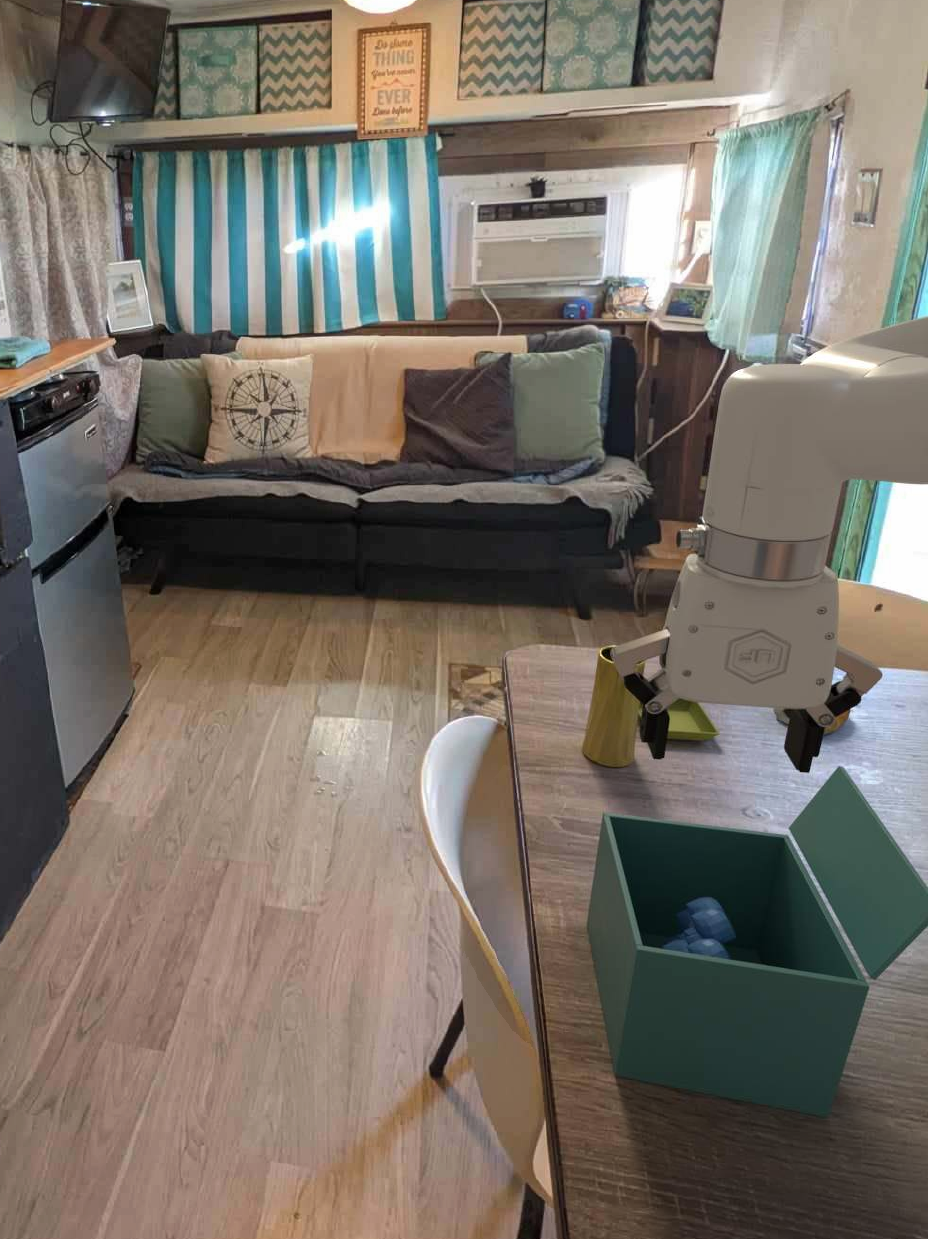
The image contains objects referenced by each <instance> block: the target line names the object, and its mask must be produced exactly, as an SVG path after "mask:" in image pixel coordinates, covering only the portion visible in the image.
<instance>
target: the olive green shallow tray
mask: <svg viewBox="0 0 928 1239" xmlns="http://www.w3.org/2000/svg"><path fill="white" fill-rule="evenodd" d="M642 707H643V704H642V703H641V702H640V705H639V712H638V717H640V718H641V715H642ZM666 709H667V711H668V714H669V716H670V723H669V729H668V736H667V740H681V741H683V740H684V741H696V742H697V741H699V742H701V741H707V740H710V739H713V738H715V737H717V736H719V735H720V731H719V729H718V728H717V726H716V725H715V723H713V721H712V719H711V718H710V717H709V715H708V713H707V712H706V711H705V708H703V706H702V704H701V702H693V701H688V700H685V699H682V698H679V699H678V700H677V701H675V702H674V703H673V704H671V705H670V706H669V707H667V708H666Z"/></svg>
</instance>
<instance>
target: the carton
mask: <svg viewBox="0 0 928 1239" xmlns="http://www.w3.org/2000/svg"><path fill="white" fill-rule="evenodd" d="M598 837H599V838H598V843H597V844H598V845H597V852H596V857H595V865H594V870H593V871H594V872H593V878H592V886H591V891H590V898H589V906H588V912H587V919H586V929H587V934H588V940H589V946H590V950H591V956H592V962H593V967H594V972H595V978H596V983H597V988H598V994H599V998H600V1005H601V1009H602V1014H603V1015H602V1016H603V1021H604V1026H605V1032H606V1036H607V1042H608V1047H609V1053H610V1058H611V1063H612V1069H613V1073H614V1074H613V1075H614V1076H615V1077H618V1078H623V1079H629V1080H634V1081H638V1082H644V1083H647V1084H654V1085H659V1086H664V1087H669V1088H674V1089H680V1090H684V1091H690V1092H695V1093H698V1094H699V1093H700V1094H703V1095H710V1096H715V1097H720V1098H724V1099H730V1100H735V1101H741V1102H744V1103H745V1102H746V1103H750V1104H756V1105H761V1106H765V1107H770V1108H775V1109H781V1110H786V1111H791V1112H797V1113H802V1114H805V1115H806V1114H807V1115H810V1116H815V1117H822V1118H826V1119H828V1118H829V1117H830V1113H831V1111H832V1107H833V1104H834V1101H835V1098H836V1095H837V1092H838V1089H839V1086H840V1082H841V1079H842V1076H843V1073H844V1069H845V1067H846V1063H847V1061H848V1057H849V1054H850V1050H851V1047H852V1045H853V1041H854V1037H855V1035H856V1031H857V1029H858V1026H859V1022H860V1018H861V1016H862V1013H863V1009H864V1007H865V1004H866V1003H865V1002H866V1000H867V996H868V993H869V990H870V985H869V983H868V981H867V979H866V977H865V975H864V973H863V972H862V969H861V968H860V966H859V965H858V962H857V961H856V959H855V957H854V955H853V953H852V951H851V949H850V948H849V946H848V944H847V942H846V940H845V938H844V936H843V935H842V932H841V930H840V929H839V927H838V925H837V924H836V921H835V919H834V918H833V916H832V914H831V912H830V909H829V908H828V907H827V904H826V902H825V901H824V899H823V898H822V895H821V893H820V891H819V889H818V888H817V886H816V884H815V881H813V878H812V877H811V875H810V873H809V871H808V869H807V867H806V866H805V864H804V862H803V860H802V858H801V856H800V854H799V852H798V851H797V849H796V847H795V845H794V843H793V841H792V839H791V838H790V836H789V835H788V834H783V833H775V832H774V833H773V832H768V831H767V832H766V831H760V830H758V831H757V830H751V829H743V828H742V829H741V828H735V827H727V826H726V827H725V826H718V825H710V824H702V823H693V822H684V821H679V820H678V821H677V820H668V819H660V818H653V817H643V816H637V815H636V816H635V815H628V814H621V813H612V812H602V818H601V823H600V830H599V836H598ZM704 897H711V898H713V899H715V900H716V901H717V902H718V903H719V904H720V905H721V907H722V908H723V910H724V912H725V914H726V917H727V918H728V919H729V921H730V922H731V925H732V927H733V930H734V932H735V935H736V938H735V939H733V940H731V941H729V942H726V943H724V946H725V948H726V950H727V952H728V955H729V957H730V960H728V959H722V958H716V957H710V956H703V955H697V954H691V953H684V952H678V951H672V950H666V949H663V948H662V946H664V945H665V944H664V941H663V940H665V939H666V938H668V937H671V936H673V935H675V934H682V933H683V931H682V930H681V928H680V926H679V923H678V920H677V918H676V915H675V914H677V913H679V912H680V911H683V910H685V909H687V905H686V904H687V903H689V902H691V901H693V900H696V899H698V898H704Z"/></svg>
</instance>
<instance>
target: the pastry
mask: <svg viewBox="0 0 928 1239" xmlns="http://www.w3.org/2000/svg"><path fill="white" fill-rule="evenodd" d="M772 709H773V710H772V711H773V713H774V715H775V718H776V719H777V720H778V721H779V722H782V723H784V724H786V725H788V724H789V719H790V714H791V710H792V709H782V708H772ZM850 714H851V709H850V710H848V711H846V712H844V713H843V714H841V715H839V716H837V717H836V721H835V723H834V724H833V725H832V726H830V727H825V731H824V735H829V734H831V733H834V732H836V731H838V730H839V729H840V728H841V727H842V726H843V725H844V724H845V723H846V722H847V720H849V718H850Z"/></svg>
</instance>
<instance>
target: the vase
mask: <svg viewBox="0 0 928 1239" xmlns="http://www.w3.org/2000/svg"><path fill="white" fill-rule="evenodd" d="M616 646H617V645H607V646H603V647H602V648H600V649H599V651H598V655H597V661H596V669H595V676H594V677H595V678H594V684H593V688H592V695H591V700H590V704H589V705H590V706H589V712H588V717H587V721H586V728H585V734H584V738H583V742H582V745H581V749H582V753H583V754H584V755H585V757H586V758H587V759H589V760H590V761H592V762H594V763H596V764H598V765H601V766H603V767H608V768H623V767H628V766H629V765H631V764H632V763H633V762H634V761H635V748H636V739H637V730H638V719H639V714H638V712H639V705H640V701H639V700H638V699H637V698H636V697H635V696H634V695H633V694H632V693H631V692H630V691H628V690H627V688H626V687H625V684H624V682H623V680H622V678H621V677H620V675H619V673H618V671H617V669H616V667H615V665H614V663H613V660H612V657H611V654H610V650H611V649H612V648H614V647H616ZM646 662H647V660H644V661H641V662H639V663H637V665H636V669H637V671H638V672H640V673H641V674H642V675H643V676H644V674H645V668H646Z"/></svg>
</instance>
